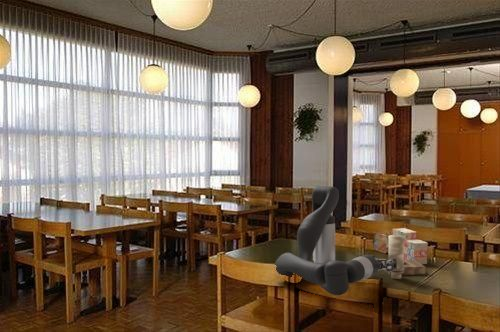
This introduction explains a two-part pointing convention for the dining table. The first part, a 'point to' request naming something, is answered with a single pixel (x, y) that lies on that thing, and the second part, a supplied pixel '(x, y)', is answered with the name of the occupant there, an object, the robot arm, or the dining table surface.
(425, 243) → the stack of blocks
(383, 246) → the tin
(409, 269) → the board
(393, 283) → the dining table surface
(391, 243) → the dowel
